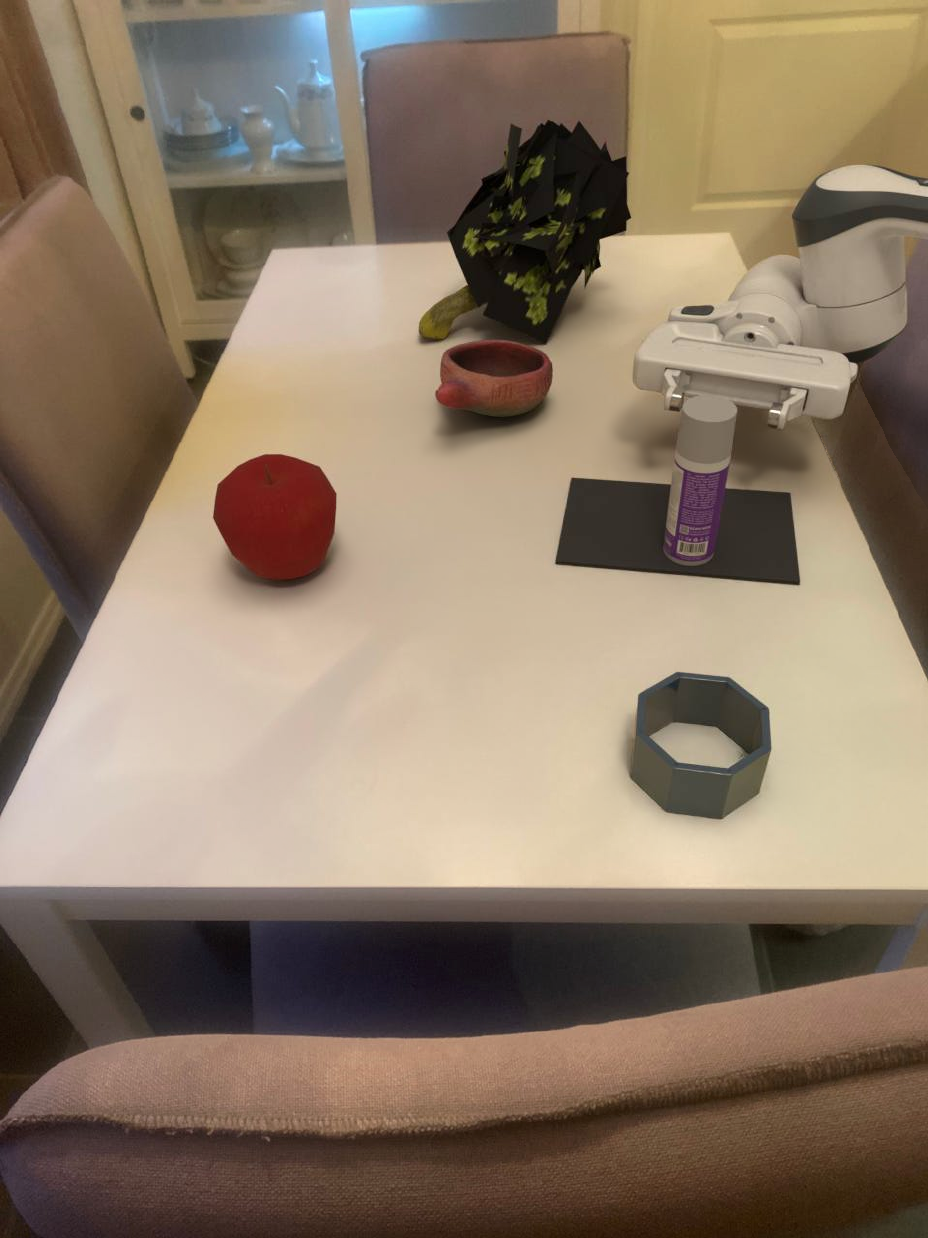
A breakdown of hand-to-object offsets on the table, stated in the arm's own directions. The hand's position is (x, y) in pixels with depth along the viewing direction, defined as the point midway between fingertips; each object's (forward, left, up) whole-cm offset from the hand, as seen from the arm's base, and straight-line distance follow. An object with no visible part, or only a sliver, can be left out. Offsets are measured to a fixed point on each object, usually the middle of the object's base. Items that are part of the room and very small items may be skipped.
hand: (723, 412), depth 84 cm
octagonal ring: (+1, +33, -11) cm, 34 cm away
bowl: (+24, -15, -11) cm, 31 cm away
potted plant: (+26, -41, -11) cm, 50 cm away
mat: (+3, +4, -11) cm, 12 cm away
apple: (+39, +15, -11) cm, 43 cm away
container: (+2, +7, -11) cm, 13 cm away
